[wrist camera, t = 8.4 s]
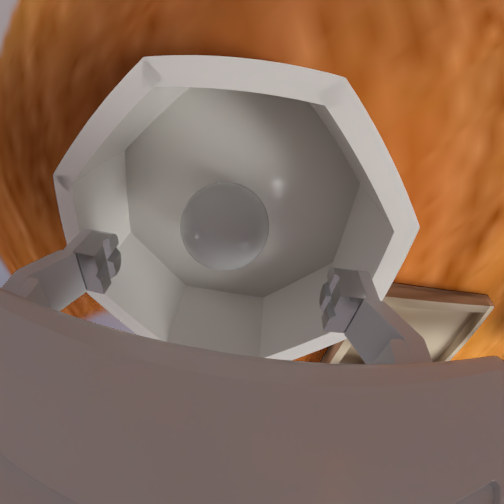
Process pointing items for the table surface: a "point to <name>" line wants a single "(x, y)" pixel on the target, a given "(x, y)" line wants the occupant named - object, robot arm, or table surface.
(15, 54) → the table surface
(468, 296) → the oak tray
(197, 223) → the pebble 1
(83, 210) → the ceramic bowl
